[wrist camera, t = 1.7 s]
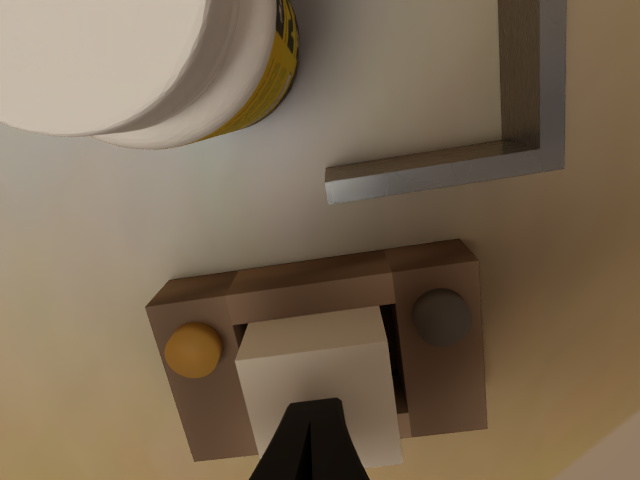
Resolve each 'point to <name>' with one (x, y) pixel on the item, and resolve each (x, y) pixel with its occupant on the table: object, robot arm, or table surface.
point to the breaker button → (323, 376)
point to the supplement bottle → (144, 67)
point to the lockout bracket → (516, 108)
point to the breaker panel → (321, 297)
